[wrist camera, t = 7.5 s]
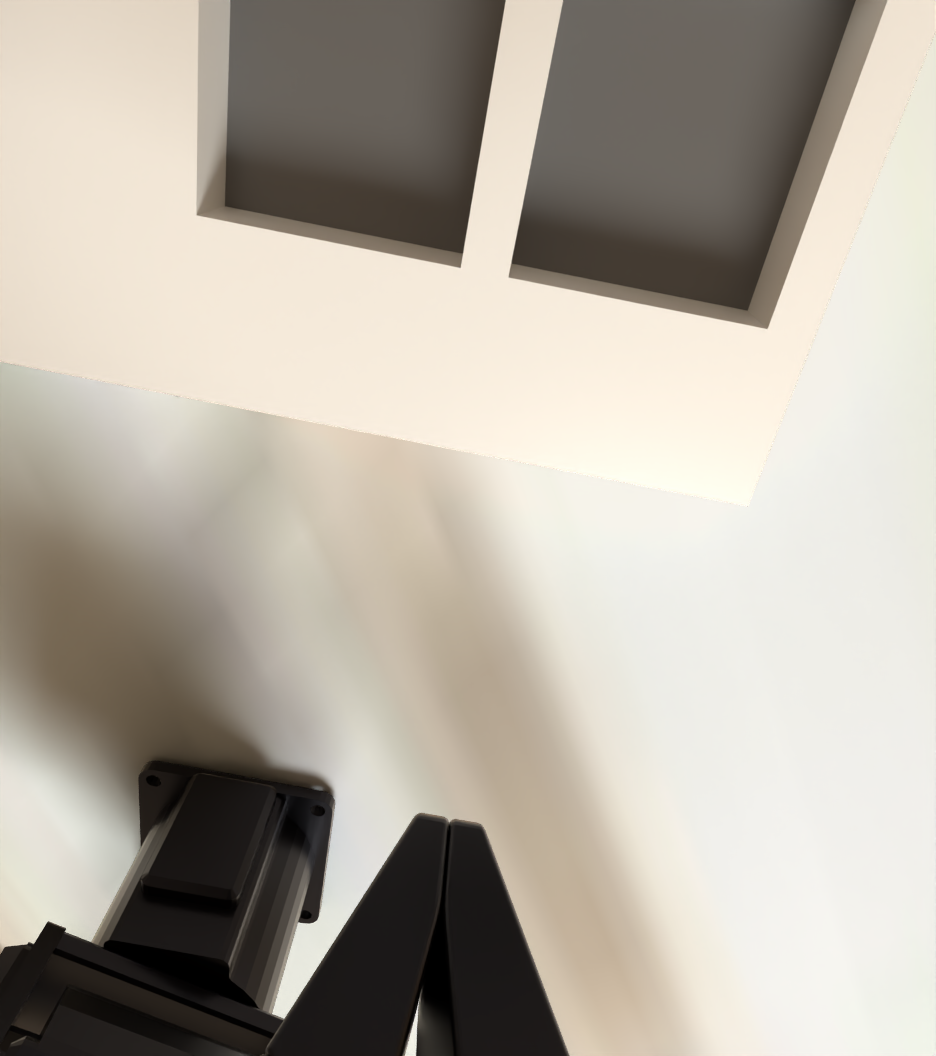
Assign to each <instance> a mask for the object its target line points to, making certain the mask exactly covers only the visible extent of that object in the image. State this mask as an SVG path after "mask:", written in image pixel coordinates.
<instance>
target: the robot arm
mask: <svg viewBox="0 0 936 1056" xmlns="http://www.w3.org/2000/svg"><path fill="white" fill-rule="evenodd" d="M156 776H157V777H156ZM317 805H319V806H321V807H319V806H317ZM139 806H140V835H141V848H140V850H139V852H138V854H137V856H136V858H135V860H134V862H133V864H132V866H131V867H130V869H129V871H128V873H127V875H126V877H125V879H124V881H123V883H122V885H121V886H120V888H119V890H118V892H117V894H116V896H115V898H114V900H113V902H112V904H111V905H110V907H109V909H108V911H107V913H106V915H105V917H104V919H103V921H102V923H101V924H100V926H99V928H98V930H97V932H96V934H95V936H94V938H93V940H92V942H89V941H87V940H84V939H81V938H79V937H76V936H74V935H71V934H69V933H66V932H65V930H66V928H64V927H62V926H59V925H57V924H54V923H52V922H49V921H48V922H47V924H46V925H45V927H44V929H43V930H42V932H41V933H40V935H39V937H38V938H37V940H36V942H35V943H34V944H33V943H30V942H29V943H28V944H27V945H18V946H9V947H5V948H4V949H3V951H2V953H1V954H0V1056H405V1053H406V1049H407V1045H408V1041H409V1037H410V1033H411V1030H412V1026H413V1022H414V1018H415V1014H416V1010H417V1006H418V1002H419V1008H418V1024H417V1050H416V1056H569V1053H568V1050H567V1048H566V1045H565V1042H564V1040H563V1037H562V1034H561V1032H560V1029H559V1026H558V1024H557V1021H556V1018H555V1016H554V1013H553V1010H552V1008H551V1005H550V1002H549V1000H548V997H547V994H546V992H545V989H544V986H543V983H542V981H541V978H540V975H539V973H538V970H537V967H536V965H535V962H534V959H533V957H532V954H531V951H530V949H529V946H528V943H527V941H526V938H525V935H524V933H523V930H522V927H521V925H520V922H519V919H518V917H517V914H516V911H515V909H514V906H513V903H512V901H511V898H510V895H509V893H508V890H507V887H506V884H505V882H504V879H503V876H502V874H501V871H500V868H499V866H498V863H497V860H496V858H495V855H494V852H493V850H492V847H491V844H490V842H489V839H488V836H487V834H486V831H485V829H484V827H483V826H482V825H481V824H479V823H475V822H470V821H464V820H459V819H454V820H451V821H450V823H449V822H448V819H446V818H445V817H442V816H436V815H431V814H425V813H419V814H417V815H416V816H415V817H414V818H413V819H412V821H411V823H410V824H409V826H408V827H407V829H406V830H405V832H404V833H403V835H402V837H401V838H400V840H399V841H398V843H397V844H396V846H395V847H394V849H393V851H392V852H391V854H390V855H389V857H388V858H387V860H386V862H385V863H384V865H383V866H382V868H381V869H380V871H379V872H378V874H377V876H376V877H375V879H374V880H373V882H372V883H371V885H370V886H369V888H368V890H367V891H366V893H365V894H364V896H363V897H362V899H361V900H360V902H359V904H358V905H357V907H356V908H355V910H354V911H353V913H352V914H351V916H350V918H349V919H348V921H347V922H346V924H345V925H344V927H343V929H342V930H341V932H340V933H339V935H338V936H337V938H336V939H335V941H334V943H333V944H332V946H331V947H330V949H329V950H328V952H327V953H326V955H325V957H324V958H323V960H322V961H321V963H320V964H319V966H318V967H317V969H316V971H315V972H314V974H313V975H312V977H311V978H310V980H309V982H308V983H307V985H306V986H305V988H304V989H303V991H302V992H301V994H300V996H299V997H298V999H297V1000H296V1002H295V1003H294V1005H293V1006H292V1008H291V1010H290V1011H289V1013H288V1014H287V1016H286V1017H285V1019H283V1018H281V1017H278V1016H276V1015H273V1014H272V1012H273V1008H274V1005H275V1001H276V998H277V994H278V991H279V987H280V984H281V980H282V977H283V973H284V970H285V966H286V962H287V959H288V955H289V952H290V948H291V945H292V941H293V938H294V934H295V931H296V927H297V924H298V922H300V923H313V922H315V921H317V919H318V917H319V913H320V909H321V904H322V897H323V889H324V882H325V875H326V868H327V860H328V853H329V846H330V839H331V831H332V824H333V817H334V809H335V800H334V798H333V797H332V796H331V795H330V794H328V793H326V792H323V791H319V790H314V789H308V788H303V787H297V786H292V785H286V784H281V783H275V782H270V781H264V780H259V779H253V778H248V777H243V776H237V775H232V774H226V773H221V772H215V771H210V770H204V769H199V768H193V767H188V766H182V765H177V764H171V763H166V762H160V761H151V762H148V763H147V764H146V765H145V766H144V768H143V769H142V771H141V773H140V775H139ZM419 998H420V999H419Z"/></svg>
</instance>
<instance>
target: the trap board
mask: <svg viewBox="0 0 936 1056" xmlns="http://www.w3.org/2000/svg"><path fill="white" fill-rule="evenodd" d="M935 33H936V0H0V362H4V363H9V364H14V365H19V366H25V367H30V368H35V369H40V370H45V371H50V372H56V373H61V374H66V375H71V376H76V377H81V378H86V379H92V380H97V381H102V382H107V383H112V384H117V385H123V386H128V387H133V388H138V389H143V390H148V391H154V392H159V393H164V394H169V395H174V396H179V397H185V398H190V399H195V400H200V401H205V402H210V403H216V404H221V405H226V406H231V407H236V408H241V409H247V410H252V411H257V412H262V413H267V414H272V415H278V416H283V417H288V418H293V419H298V420H303V421H309V422H314V423H319V424H324V425H329V426H334V427H339V428H345V429H350V430H355V431H360V432H365V433H370V434H376V435H381V436H386V437H391V438H396V439H401V440H407V441H412V442H417V443H422V444H427V445H432V446H438V447H443V448H448V449H453V450H458V451H463V452H469V453H474V454H479V455H484V456H489V457H494V458H500V459H505V460H510V461H515V462H520V463H525V464H531V465H536V466H541V467H546V468H551V469H556V470H562V471H567V472H572V473H577V474H582V475H587V476H592V477H598V478H603V479H608V480H613V481H618V482H623V483H629V484H634V485H639V486H644V487H649V488H654V489H660V490H665V491H670V492H675V493H680V494H685V495H691V496H696V497H701V498H706V499H711V500H716V501H722V502H727V503H732V504H737V505H742V506H747V507H748V505H749V503H750V500H751V498H752V495H753V493H754V490H755V487H756V485H757V482H758V480H759V477H760V475H761V472H762V470H763V467H764V465H765V462H766V460H767V457H768V455H769V452H770V450H771V447H772V445H773V442H774V439H775V437H776V434H777V432H778V429H779V427H780V424H781V422H782V419H783V417H784V414H785V412H786V409H787V407H788V404H789V402H790V399H791V396H792V394H793V391H794V389H795V386H796V384H797V381H798V379H799V376H800V374H801V371H802V369H803V366H804V364H805V361H806V359H807V356H808V354H809V351H810V348H811V346H812V343H813V341H814V338H815V336H816V333H817V331H818V328H819V326H820V323H821V321H822V318H823V316H824V313H825V311H826V308H827V306H828V303H829V300H830V298H831V295H832V293H833V290H834V288H835V285H836V283H837V280H838V278H839V275H840V273H841V270H842V268H843V265H844V263H845V260H846V258H847V255H848V252H849V250H850V247H851V245H852V242H853V240H854V237H855V235H856V232H857V230H858V227H859V225H860V222H861V220H862V217H863V215H864V212H865V209H866V207H867V204H868V202H869V199H870V197H871V194H872V192H873V189H874V187H875V184H876V182H877V179H878V177H879V174H880V172H881V169H882V167H883V164H884V161H885V159H886V156H887V154H888V151H889V149H890V146H891V144H892V141H893V139H894V136H895V134H896V131H897V129H898V126H899V124H900V121H901V119H902V116H903V113H904V111H905V108H906V106H907V103H908V101H909V98H910V96H911V93H912V91H913V88H914V86H915V83H916V81H917V78H918V76H919V73H920V71H921V68H922V65H923V63H924V60H925V58H926V55H927V53H928V50H929V48H930V45H931V43H932V40H933V38H934V35H935Z"/></svg>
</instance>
